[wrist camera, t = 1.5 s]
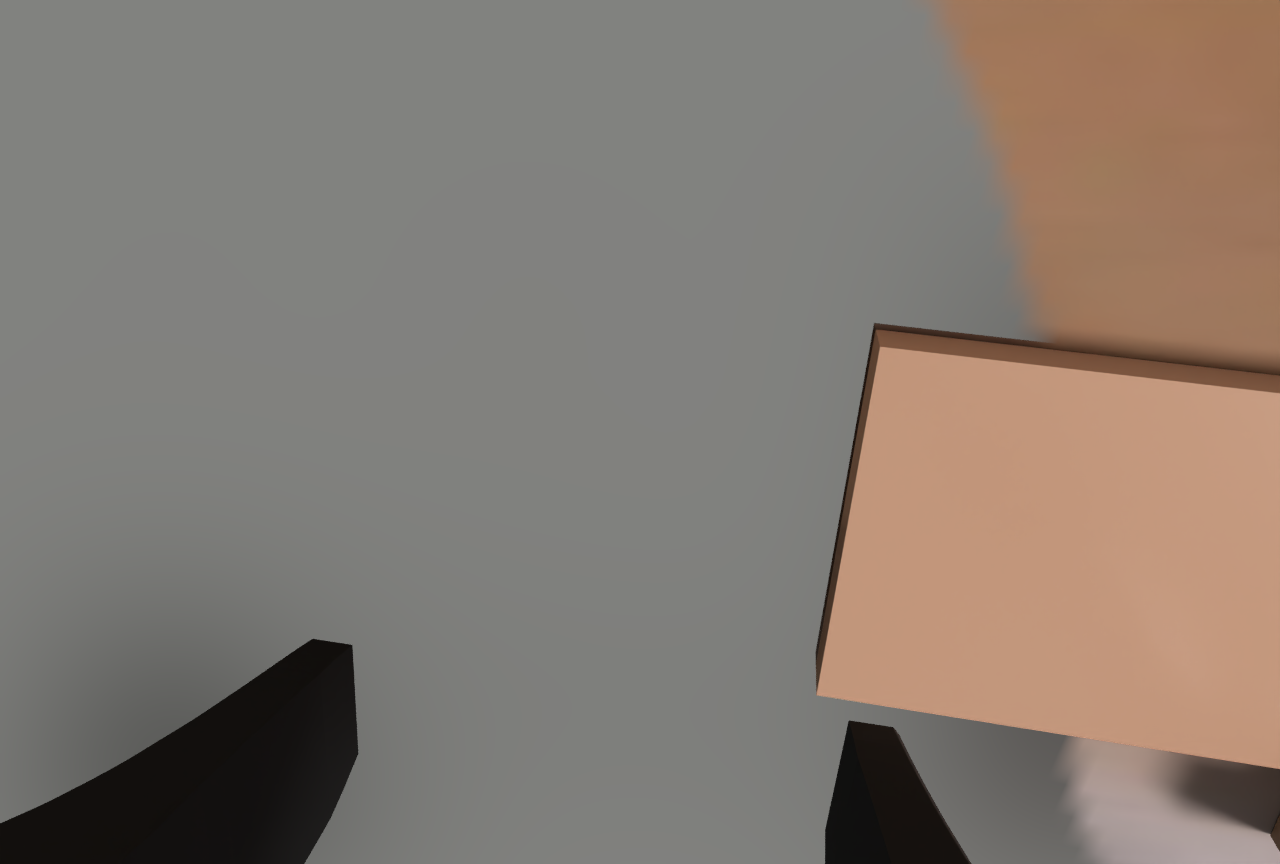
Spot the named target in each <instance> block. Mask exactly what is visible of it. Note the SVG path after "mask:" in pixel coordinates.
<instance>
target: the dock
mask: <svg viewBox="0 0 1280 864" xmlns="http://www.w3.org/2000/svg"><path fill="white" fill-rule="evenodd" d="M1270 836H1271V837H1272V839H1273V841H1274V842H1275V844H1276V846H1277V848H1278V849H1279V851H1280V815H1279V818H1278V820H1277V822H1276V824H1275V827H1274V829H1273V831H1272V833H1271V835H1270Z"/></svg>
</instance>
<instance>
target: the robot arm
mask: <svg viewBox="0 0 1280 864" xmlns="http://www.w3.org/2000/svg"><path fill="white" fill-rule="evenodd" d="M357 755H358V740H357V722H356V704H355V685H354V667H353V650H352V645H349V644H343V643H336V642H330V641H323V640H317V639H312V640H310V641H309V642H307V643H306V644H304V645H302V646H301V647H299V648H298V649H296V650H295V651H294V652H292V653H291V654H289V655H288V656H286V657H285V658H283V659H282V660H280V661H279V662H278V663H276V664H275V665H273V666H272V667H271V668H269V669H267V670H266V671H265V672H263V673H262V674H260V675H259V676H258V677H256V678H254V679H253V680H252V681H250V682H249V683H247V684H246V685H244V686H243V687H241V688H240V689H238V690H237V691H236V692H234V693H233V694H231V695H229V696H228V697H227V698H225V699H224V700H222V701H221V702H219V703H218V704H216V705H215V706H213V707H212V708H210V709H209V710H207V711H206V712H204V713H203V714H201V715H200V716H198V717H197V718H195V719H194V720H192V721H190V722H189V723H187V724H185V725H184V726H182V727H181V728H179V729H177V730H176V731H174V732H172V733H171V734H169V735H167V736H166V737H164V738H163V739H161V740H159V741H158V742H156V743H154V744H153V745H151V746H150V747H148V748H146V749H145V750H143V751H141V752H140V753H138V754H137V755H135V756H133V757H131V758H130V759H128V760H126V761H125V762H123V763H121V764H119V765H118V766H116V767H114V768H112V769H111V770H109V771H107V772H105V773H103V774H101V775H99V776H98V777H96V778H94V779H92V780H90V781H88V782H86V783H85V784H82V785H81V786H78V787H76V788H75V789H73V790H71V791H69V792H67V793H65V794H63V795H61V796H59V797H57V798H55V799H53V800H51V801H49V802H47V803H45V804H43V805H41V806H38V807H36V808H34V809H32V810H30V811H28V812H25V813H23V814H21V815H18V816H16V817H14V818H12V819H9V820H7V821H5V822H3V823H0V864H304V863H305V862H306V859H307V858H308V856H309V855H310V853H311V851H312V849H313V848H314V846H315V844H316V843H317V841H318V839H319V837H320V836H321V834H322V832H323V830H324V829H325V827H326V825H327V823H328V821H329V820H330V818H331V816H332V813H333V811H334V809H335V807H336V805H337V802H338V800H339V798H340V796H341V794H342V791H343V789H344V786H345V784H346V782H347V779H348V777H349V775H350V772H351V770H352V767H353V765H354V762H355V760H356V757H357ZM825 864H971V862H970V861H969V860H968V858H967V856H966V854H965V853H964V851H963V849H962V848H961V846H960V844H959V843H958V841H957V840H956V838H955V836H954V835H953V833H952V831H951V830H950V828H949V827H948V825H947V823H946V822H945V820H944V818H943V816H942V815H941V813H940V811H939V809H938V808H937V806H936V804H935V802H934V801H933V799H932V797H931V795H930V793H929V792H928V790H927V788H926V786H925V784H924V783H923V781H922V779H921V777H920V775H919V773H918V771H917V769H916V767H915V765H914V764H913V762H912V760H911V758H910V756H909V754H908V752H907V750H906V748H905V746H904V744H903V742H902V740H901V738H900V735H899V734H898V733H897V732H896V730H895V729H894V728H893V727H888V726H881V725H875V724H868V723H861V722H855V721H849V722H848V727H847V731H846V736H845V741H844V746H843V750H842V755H841V759H840V765H839V769H838V774H837V778H836V783H835V787H834V792H833V797H832V801H831V806H830V810H829V815H828V820H827V825H826V829H825Z"/></svg>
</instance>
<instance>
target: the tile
mask: <svg viewBox="0 0 1280 864" xmlns="http://www.w3.org/2000/svg"><path fill="white" fill-rule="evenodd" d="M816 692H817V693H816V695H818V696H824V697H831V698H837V699H844V700H850V701H856V702H862V703H869V704H875V705H881V706H888V707H894V708H900V709H906V710H912V711H919V712H925V713H931V714H938V715H944V716H951V717H957V718H963V719H969V720H975V721H982V722H988V723H994V724H1001V725H1007V726H1014V727H1019V728H1025V729H1032V730H1039V731H1044V732H1051V733H1057V734H1063V735H1069V736H1076V737H1082V738H1088V739H1095V740H1101V741H1107V742H1113V743H1120V744H1126V745H1132V746H1139V747H1145V748H1151V749H1157V750H1164V751H1170V752H1176V753H1182V754H1189V755H1195V756H1201V757H1208V758H1214V759H1220V760H1226V761H1233V762H1239V763H1245V764H1252V765H1258V766H1264V767H1270V768H1277V769H1280V376H1279V375H1270V374H1261V373H1253V372H1244V371H1235V370H1226V369H1218V368H1209V367H1200V366H1191V365H1183V364H1174V363H1165V362H1156V361H1148V360H1139V359H1130V358H1122V357H1113V356H1104V355H1095V354H1087V353H1078V352H1069V351H1060V350H1052V349H1043V348H1042V346H1041V342H1037V341H1029V340H1020V339H1011V338H1002V337H993V336H984V335H975V334H967V333H958V332H949V331H941V330H932V329H923V328H915V327H906V326H897V325H888V324H880V323H874V326H873V332H872V337H871V343H870V349H869V355H868V360H867V366H866V372H865V377H864V382H863V388H862V394H861V399H860V405H859V410H858V416H857V422H856V427H855V433H854V439H853V445H852V450H851V455H850V461H849V467H848V472H847V478H846V484H845V489H844V495H843V500H842V506H841V512H840V517H839V523H838V529H837V534H836V540H835V545H834V551H833V557H832V562H831V568H830V573H829V579H828V585H827V590H826V596H825V602H824V607H823V613H822V618H821V624H820V630H819V636H818V641H817V646H816Z"/></svg>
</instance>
